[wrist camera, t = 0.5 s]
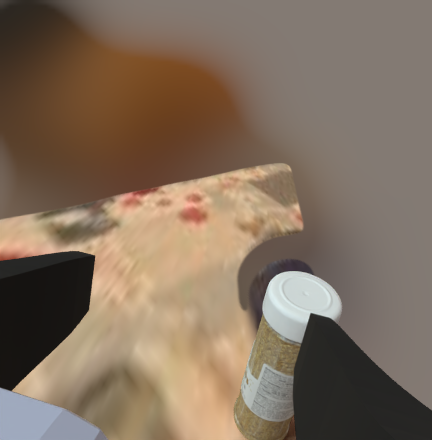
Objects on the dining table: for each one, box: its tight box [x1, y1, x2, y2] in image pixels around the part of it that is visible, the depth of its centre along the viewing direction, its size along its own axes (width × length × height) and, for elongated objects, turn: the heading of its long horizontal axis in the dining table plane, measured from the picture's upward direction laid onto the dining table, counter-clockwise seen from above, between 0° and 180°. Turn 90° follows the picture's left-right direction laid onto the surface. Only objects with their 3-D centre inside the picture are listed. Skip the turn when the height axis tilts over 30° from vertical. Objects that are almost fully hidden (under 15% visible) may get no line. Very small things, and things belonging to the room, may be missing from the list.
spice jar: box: [234, 271, 342, 440], centre depth 25 cm, size 5×5×13 cm
